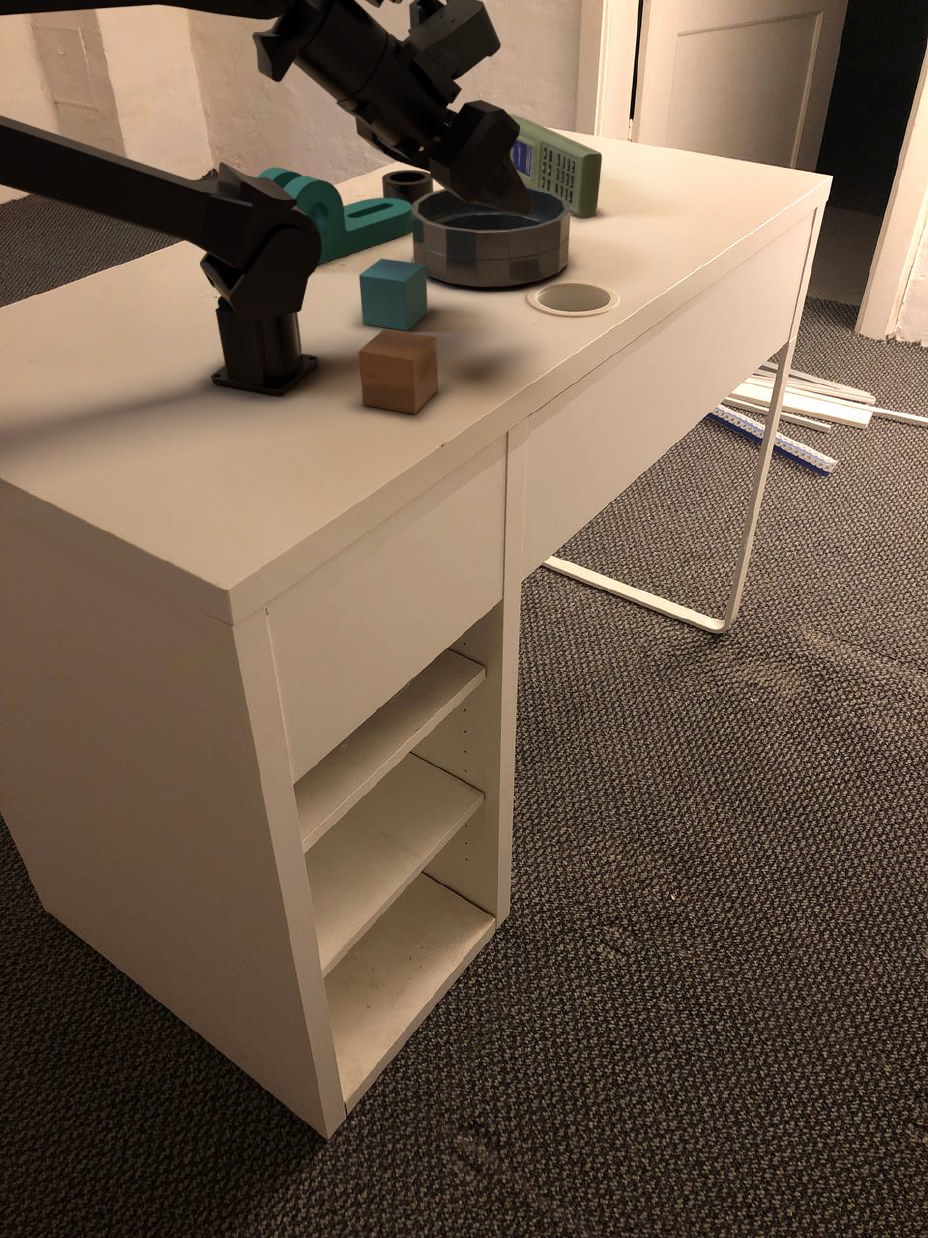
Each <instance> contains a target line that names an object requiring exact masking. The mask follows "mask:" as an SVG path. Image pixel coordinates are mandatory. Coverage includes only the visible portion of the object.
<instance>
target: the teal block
mask: <svg viewBox="0 0 928 1238" xmlns="http://www.w3.org/2000/svg"><path fill="white" fill-rule="evenodd" d="M358 279H359V280H358V281H359V288H360V289H359V291H360V305H361V315H362V316H361V317H362V318H361V319H362V324H363V325H368V326H373V327H374V326H375V327H380V328H385V329H392V330H398V331H405V332H408V331H409V330H410V329H412V328H413V327H414V326H415V325H416V324H417V323H418V322H419V321H420V320H422V318H424V316H425V315H427V314H428V311H429V310H428V287H427V285H428V283H427V282H428V281H427V275H426V264H419V263H414V262H411V261H405V260H404V261H403V260H394V259H389V258H388V259H387V258H380V259H379V260H377V261H376V262H374V263H373V264H372V265H370V266H369V267H367V268H366V269H365V270H364V271H362V272H360V274H359V275H358Z"/></svg>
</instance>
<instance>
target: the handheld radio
mask: <svg viewBox="0 0 928 1238" xmlns="http://www.w3.org/2000/svg"><path fill="white" fill-rule="evenodd" d="M508 114H509V115H510V116H511V117H512V118H513V119H514V120H515V121H516V122H517V123H518V124H519V125H520V134H519V136H518V138H517V139H516V142H515V144H514V146H513V147H512V149H511V160H512V162H513V164H514V166H515V168H516V170H517V172H518V174H519V176H520V177H521V179H522V181H523V183H524V185H525V186H530V187H534V188H538V189H542V190H546V191H550V192H553V193H555V194H557V195H559V196H560V197H562V198H564V199H566V200H567V201H568V204H569V207H570V210H571V212H570V213H573V214H574V215H576V216H578V217H580V218H581V219H585V218H590V217H595V216H596V214H597V210H598V204H599V193H600V183H601V174H602V163H603V155H602V152H600V151H599V150H598V151H597V150H596V149H593V148H592V147H589V146H587V145H585V144H582V143H580V142H578V141H576V140H574V139H572V138H569V137H567V136H564V135H563V134H560V133H558V132H556V131H554V130H552V129H549V128H547V127H545V126H544V125H543V126H542V125H540V124H538V123H537V122H534V121H532V120H529V119H528V118H525V117H523V116H519V115H517V114H514V113H508Z"/></svg>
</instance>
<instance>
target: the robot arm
mask: <svg viewBox="0 0 928 1238" xmlns="http://www.w3.org/2000/svg"><path fill="white" fill-rule="evenodd" d="M364 1H365V2H367V3H368V4H369V5H371V6H373V7H374V8H377V9H380V8H381V6H382V5H383V3H384V1H385V0H364ZM388 1H389V2H391V3H392V4H396V5H400V4H402V2H403V1H404V0H388ZM445 2H446V3H445V4H444V3H443V2H442V1H440V0H413V1H411V2H410V3H409V4H408V10H409V13H408V14H409V29H408V30H407V33H408V34H409V35H407V36H406V38H404V39H403V40H400V39H398V38H397V37H396V36H395V35H393V34H392V33H390V32H389V31H388V30H387V29H385V28H384V27H383V26H382V25H381V24H380V23H379V22H378V21H377V20H376V19H375V18H374V17H373V16H372V15H371V14H370V13H369V12H367V10H366V9H364V7H363V6H362V5H361V4H359V2H358V1H356V0H0V17H2V16H4V17H5V16H17V15H30V14H31V15H32V14H47V13H59V12H72V11H73V12H74V11H88V10H89V11H90V10H102V9H117V8H118V9H119V8H131V7H132V8H133V7H145V6H146V7H147V6H164V7H165V6H166V7H173V8H180V9H185V10H191V11H197V12H202V13H208V14H214V15H220V16H228V17H235V18H242V19H251V20H261V21H269V20H273V19H276V18H277V19H276V20H275V22H274V23H273V25H272V27H271V28H270V29H267V30H265V31H254V32H252V35H251V37H252V38H251V39H252V40H253V43H254V46H255V48H256V60H257V61H256V62H257V70H258V72H259V73H260V74H261V75H263V76H264V77H266V78H268V79H270V80H272V81H273V82H276V83H280V82H282V81H283V79H284V78H285V76H286V75H287V74H288V71H289V69H290V67H291V66H292V65H295V66H297V67H298V68H299V69H300V71H302V72H303V73H305V75H307V76H308V77H309V78H311V80H313V81H314V82H315V83H316V84H317V85H318V86H319V87H320V88H322V89H323V90H324V91H325V92H326V93H328V94H329V96H331V97H333V99H334V100H336V103H335V104H336V105H337V106H338V107H340V108H341V109H342V110H343V111H344V112H346V113H348V114H349V115H350V116H352V117H354V118H355V126H356V134H357V135H358V136H359V137H360V138H361V139H363V140H364V141H365V142H366V143H367V144H369V145H370V146H371V147H372V148H374V149H375V150H377V151H378V152H380V153H382V154H383V155H385V156H387V157H388V158H391V159H392V160H394V161H396V162H398V163H401V164H404V165H407V166H410V167H413V168H416V169H420V170H421V171H424V172H428V173H430V177H432V178H433V181H435V182H436V183H437V184H439V186H440V187H442V188H443V189H446V190H448V191H449V192H450V193H451V194H453V195H455V196H456V197H458V198H460V199H461V200H463V201H465V202H466V203H470V204H471V203H475V204H479V205H484V206H488V207H493V208H497V209H501V210H505V211H509V212H513V213H517V214H521V215H525V216H527V215H529V213H530V212H531V210H532V209H533V208H534V206H535V203H534V201H533V199H532V197H531V195H530V194H529V192H528V190H527V188H526V186H525V185H524V183H523V181H522V179H521V177H520V176H519V174H518V172H517V170H516V168H515V166H514V164H513V162H512V160H511V149H512V147H513V146H514V144H515V142H516V139H517V138H518V136H519V134H520V125H519V124H518V123H517V122H516V121H515V120H514V119H513V118H512V117H511V116H510V115H509V114H510V113H508V112H507V111H506V110H505V108H502V107H499V106H497V105H494V104H492V103H490V102H487V101H485V100H482V99H478V100H472V101H467V102H464V103H463V105H462V106H461V108H460V109H459V110H458V112H457V111H455V110H453V109H451V108H448V106H449V105H452V104H454V103H455V101H456V99H457V98H458V97H459V95H460V93H461V91H462V90H463V88H462V87H461V86H460V85H459V84H458V83H457V82H456V80H458V79H460V78H461V77H463V76H465V74H467V73H468V72H469V71H470V70H472V69H473V68H474V67H476V66H477V65H478V64H479V63H481V62H482V61H483V60H485V59H486V58H487V57H488V58H491V57H493V56H495V54H496V53H498V51H499V50H500V48H501V47H502V44H501V41H500V39H499V36H498V34H497V31H496V29H495V27H494V25H493V22H492V20H491V17H490V15H489V13H488V10H487V8H486V6H485V3H484V2H483V1H482V0H445ZM0 186H4V187H6V188H10V189H14V190H17V191H20V192H23V193H27V194H29V195H33V196H37V197H39V198H43V199H47V200H50V201H52V202H56V203H60V204H63V205H67V206H69V207H73V208H76V209H79V210H83V211H85V212H90V213H93V214H96V215H99V216H102V217H105V218H109V219H112V220H116V221H119V222H122V223H125V224H129V225H133V226H135V227H139V228H141V229H146V230H149V231H152V232H155V233H158V234H161V235H166V236H168V237H172V238H174V239H178V240H181V241H184V242H188V243H189V244H191V245H194V246H195V247H198V248H199V249H201V250H202V251H204V252H206V253H205V254H204V255H203V257H202V258H201V259H200V261H199V267H200V268H201V270H202V272H203V274H204V275H205V277H206V279H207V281H208V282H209V285H211V287H212V288H214V289H215V290H216V291H217V292H218V293H219V295H220V296H219V297H218V299H217V306H218V307H217V308H215V315H216V321H217V322H216V323H217V327H218V334H219V338H220V344H221V350H222V356H223V361H224V365H223V366H222V367H221V368H219V369H218V370H217V371H215V372H214V373H212V374H211V375H210V379H211V382H212V384H217V385H223V386H227V387H232V388H233V387H234V388H237V389H238V388H239V389H245V390H251V391H255V392H261V393H266V394H271V395H282V394H284V393H285V392H287V390H289V389H290V388H291V387H293V386H294V385H295V384H296V383H298V381H299V380H301V379H302V378H303V377H305V376H306V375H307V374H308V373H309V372H311V371H312V369H313V368H315V367H316V366H317V365H319V357H318V356H317V355H311V354H305V353H302V350H303V349H302V348H303V347H302V341H301V332H300V324H299V317H298V313H300V312H301V311H302V308H303V304H304V299H305V296H306V295H305V294H306V290H307V286H308V281H309V278H310V277H311V276H312V275H313V274H314V272H315V271H316V270H317V268H318V266H319V265H318V263H319V261H320V257H321V252H322V243H321V235H320V233H319V231H318V229H317V227H316V224H315V222H314V221H313V220H312V219H311V218H310V217H309V216H307V215H306V214H305V213H304V212H302V211H301V210H300V209H299V208H298V207H296V206H295V205H296V204H297V200H296V199H295V198H294V197H292V196H291V195H290V194H289V193H287V192H286V191H285V190H284V189H282V188H281V187H280V186H279V185H277V184H276V183H275V182H274V181H272V180H271V179H270V178H269V177H259V178H257V177H256V176H252V175H247V174H245V173H243V172H241V171H239V170H237V169H236V168H234V167H233V166H231V165H229V164H227V163H225V162H223V161H221V162H219V164H218V174H217V180H199V179H198V180H197V179H189V178H186V177H183V176H180V175H177V174H174V173H172V172H168V171H165V170H163V169H161V168H160V169H159V168H157V167H154V166H152V165H148V164H145V163H142V162H139V161H137V160H134V159H131V158H128V157H124V156H122V155H119V154H116V153H113V152H110V151H107V150H104V149H101V148H98V147H95V146H92V145H90V144H86V143H83V142H80V141H77V140H74V139H72V138H69V137H66V136H63V135H60V134H58V133H57V134H56V133H54V132H51V131H49V130H45V129H42V128H39V127H36V126H33V125H31V124H27V123H25V122H22V121H19V120H17V119H13V118H10V117H7V116H4V115H1V114H0Z"/></svg>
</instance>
